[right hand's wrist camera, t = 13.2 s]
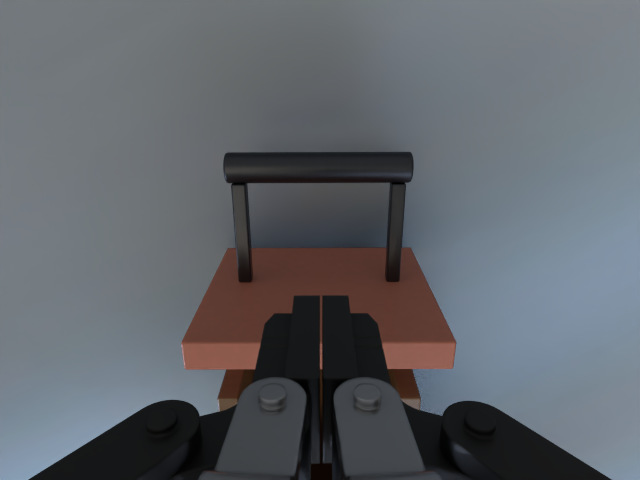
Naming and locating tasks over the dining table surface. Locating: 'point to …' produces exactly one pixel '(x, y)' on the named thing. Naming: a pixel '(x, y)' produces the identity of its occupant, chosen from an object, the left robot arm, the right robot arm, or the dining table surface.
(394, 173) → the drawer
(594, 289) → the dining table surface
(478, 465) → the right robot arm
